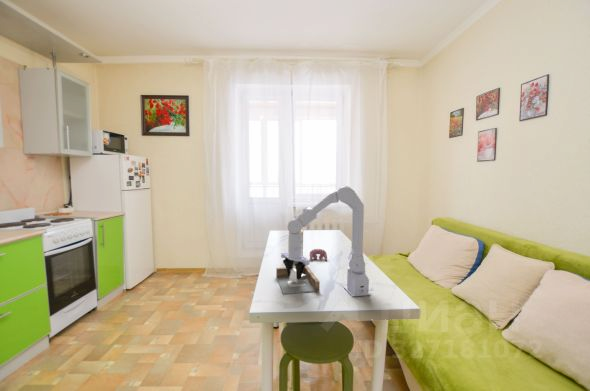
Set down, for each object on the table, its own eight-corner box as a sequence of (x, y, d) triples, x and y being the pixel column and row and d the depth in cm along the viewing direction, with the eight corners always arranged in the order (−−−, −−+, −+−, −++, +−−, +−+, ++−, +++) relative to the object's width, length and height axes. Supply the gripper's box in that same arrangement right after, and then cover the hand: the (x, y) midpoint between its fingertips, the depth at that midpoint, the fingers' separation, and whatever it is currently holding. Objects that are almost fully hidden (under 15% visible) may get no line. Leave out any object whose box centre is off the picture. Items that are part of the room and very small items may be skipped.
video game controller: (326, 261, 148) (325, 249, 151) (327, 260, 144) (327, 248, 146) (309, 261, 148) (309, 249, 150) (310, 260, 143) (309, 248, 146)
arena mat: (318, 291, 107) (318, 290, 107) (283, 294, 103) (283, 293, 103) (307, 274, 124) (307, 273, 124) (276, 277, 121) (276, 275, 121)
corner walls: (319, 291, 106) (319, 281, 106) (283, 295, 103) (283, 284, 103) (307, 274, 124) (307, 265, 124) (276, 277, 121) (276, 268, 120)
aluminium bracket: (297, 282, 111) (297, 271, 111) (289, 280, 114) (289, 268, 114) (305, 279, 116) (306, 268, 115) (298, 276, 118) (298, 265, 118)
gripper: (313, 247, 110) (313, 278, 111) (288, 241, 120) (288, 270, 121) (303, 251, 105) (302, 283, 106) (278, 244, 114) (277, 274, 115)
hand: (294, 276), depth 113 cm, fingers closed on aluminium bracket, 4 cm apart
